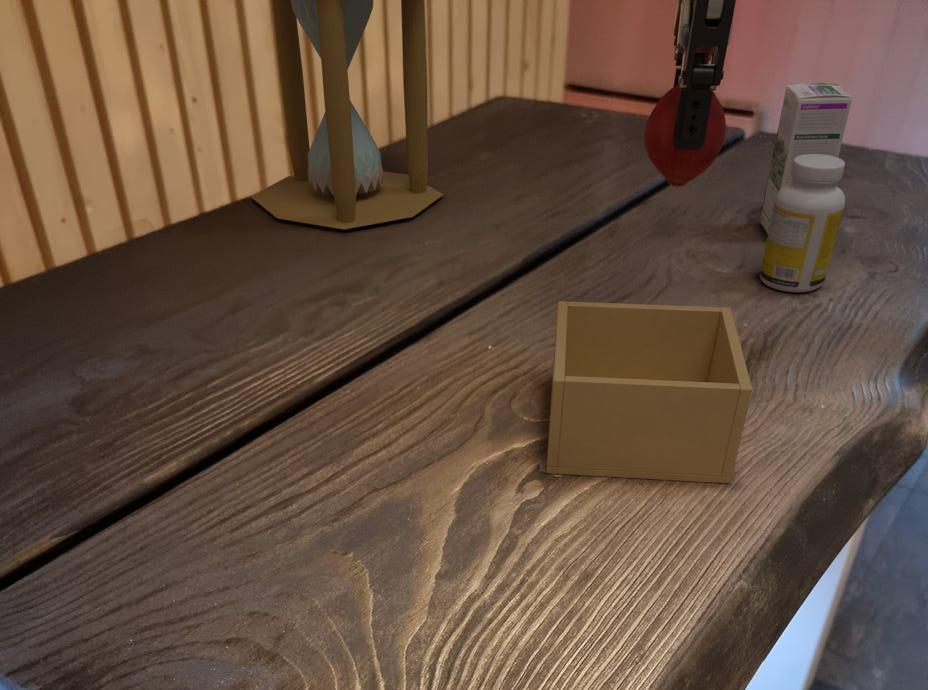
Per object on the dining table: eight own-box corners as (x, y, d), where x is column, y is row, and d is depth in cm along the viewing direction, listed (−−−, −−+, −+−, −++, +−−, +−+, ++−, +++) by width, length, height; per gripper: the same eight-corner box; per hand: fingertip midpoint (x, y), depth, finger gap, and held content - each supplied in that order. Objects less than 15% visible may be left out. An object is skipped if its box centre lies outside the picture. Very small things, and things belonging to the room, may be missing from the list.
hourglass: (476, 197, 116) (478, -49, 99) (343, 246, 104) (320, -25, 87) (350, 161, 128) (333, -65, 111) (218, 200, 116) (176, -46, 99)
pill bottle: (822, 274, 97) (854, 153, 89) (823, 298, 93) (857, 173, 85) (758, 268, 98) (785, 148, 91) (756, 291, 94) (784, 168, 86)
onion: (663, 170, 74) (680, 55, 69) (728, 184, 72) (751, 65, 66) (624, 188, 71) (638, 68, 66) (690, 204, 68) (711, 80, 63)
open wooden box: (713, 395, 78) (730, 307, 73) (730, 483, 68) (752, 389, 63) (551, 387, 79) (558, 300, 74) (546, 473, 69) (552, 380, 64)
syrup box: (820, 241, 104) (857, 95, 94) (767, 241, 104) (799, 95, 94) (806, 223, 108) (841, 82, 98) (756, 223, 108) (785, 82, 99)
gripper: (810, -157, 52) (746, 166, 63) (777, -166, 62) (727, 113, 74) (675, -157, 53) (635, 163, 64) (665, -166, 63) (633, 110, 75)
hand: (685, 135), depth 69 cm, fingers closed on onion, 6 cm apart
